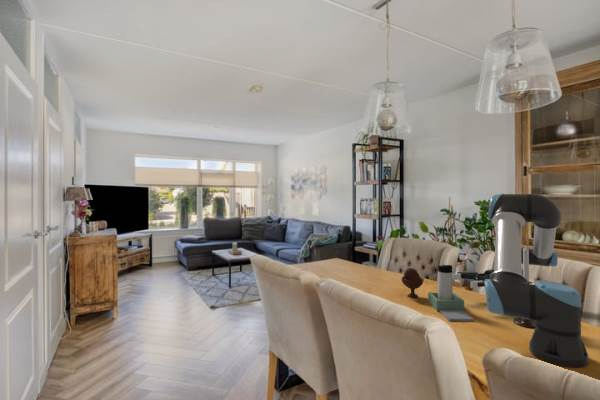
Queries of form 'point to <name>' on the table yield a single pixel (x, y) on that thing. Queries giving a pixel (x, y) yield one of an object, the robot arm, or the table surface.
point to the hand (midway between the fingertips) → (459, 281)
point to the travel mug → (445, 282)
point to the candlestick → (521, 321)
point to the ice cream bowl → (412, 281)
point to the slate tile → (456, 315)
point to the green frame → (445, 302)
